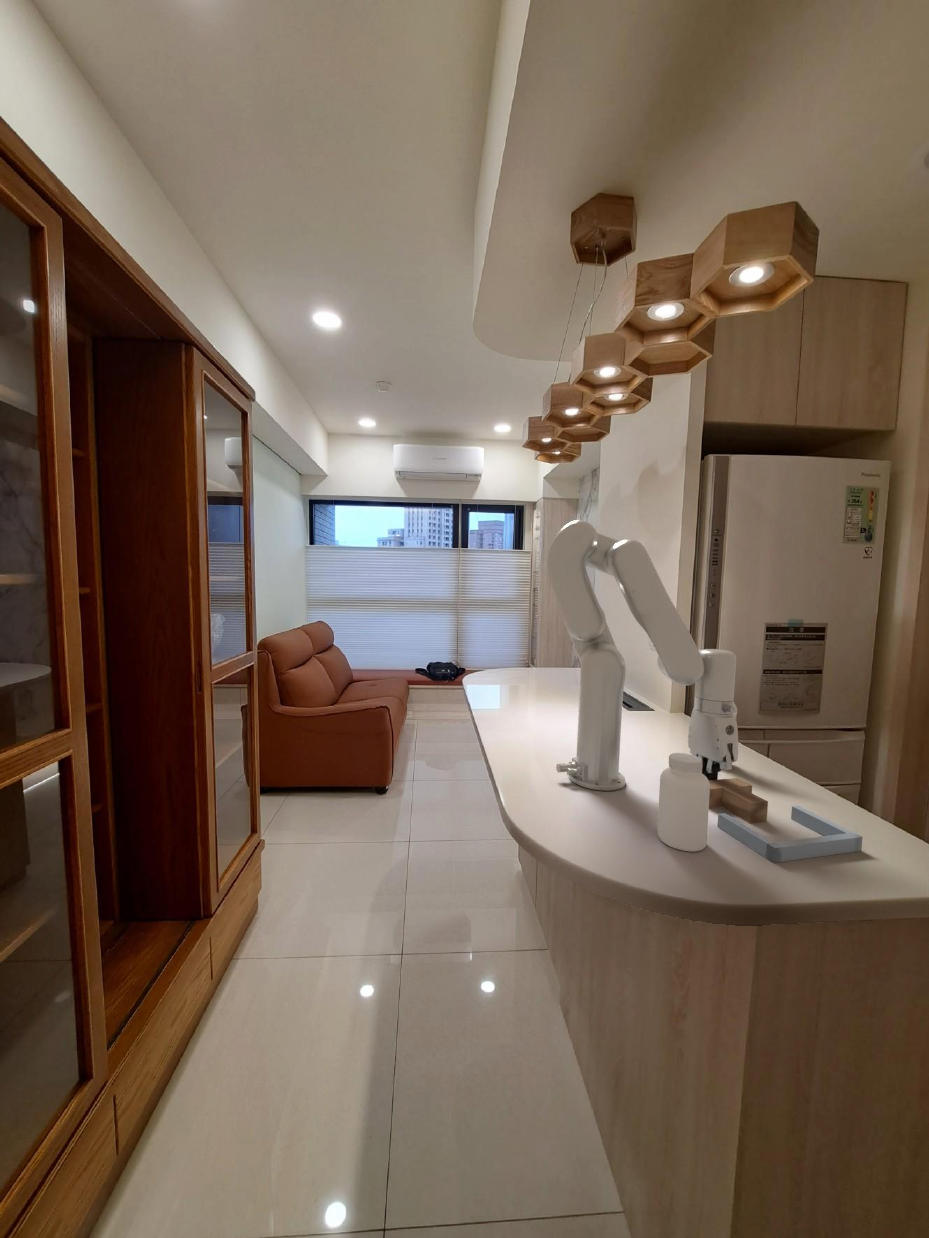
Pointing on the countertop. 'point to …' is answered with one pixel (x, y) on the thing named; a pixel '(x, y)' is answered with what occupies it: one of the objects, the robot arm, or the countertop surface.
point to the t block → (738, 799)
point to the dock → (829, 844)
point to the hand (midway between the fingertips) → (708, 787)
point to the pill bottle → (683, 803)
